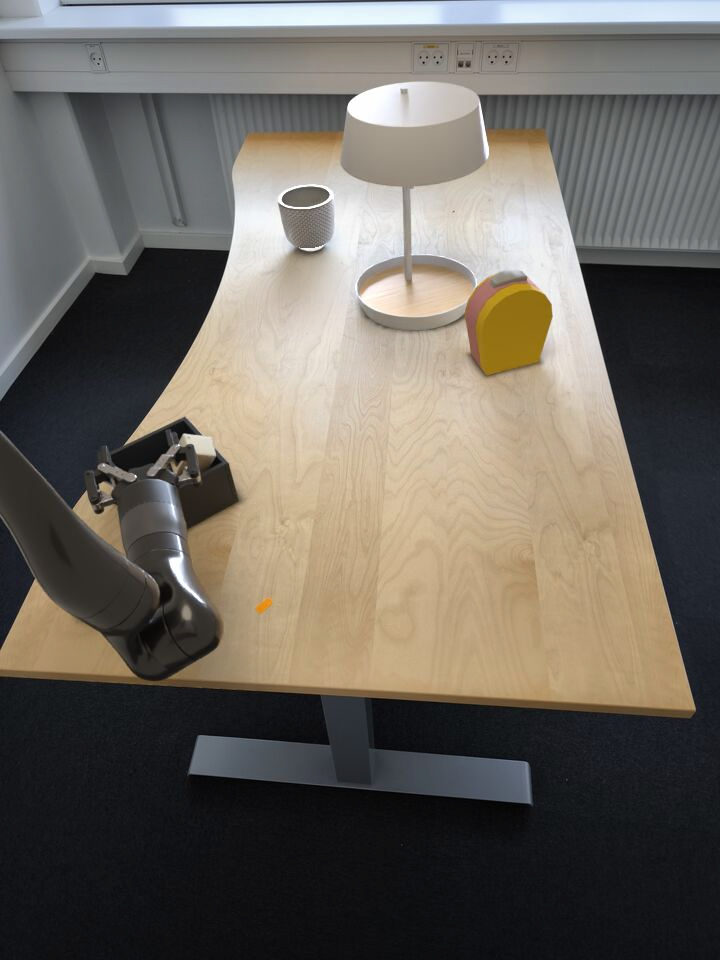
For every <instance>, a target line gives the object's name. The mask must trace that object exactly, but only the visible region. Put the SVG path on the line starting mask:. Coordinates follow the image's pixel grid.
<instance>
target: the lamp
mask: <svg viewBox="0 0 720 960" xmlns="http://www.w3.org/2000/svg"><path fill="white" fill-rule="evenodd" d="M347 104H348V105H347V107H346V115H345V123H344V128H343V137H342V143H341V151H340V157H339V163H340V166H341V168H342V170H343V171H344V172H345V173H346V174H348V175H349V176H351V177H353V178H355V179H357V180H359V181H363V182H366V183H368V184H369V183H370V184H374V185H379V186H385V187H387V186H388V187H397V188H398V187H399V188H402V189H401V190H402V191H401V194H402V195H401V196H402V228H403V255H398V256H394V257H389V258H386V259H383V260H380V261H378V262H376V263H374V264H372V265H371V266H369V267H367V268H366V269H365V270H364V271H362V273H361V274H360V275H359V276H358V278H357V280H356V282H355V293H356V296H357V299H358V301H359V304H360V306H361V309H362V310H363V312H364V313H365V315H366V316H367V317H368V318H369V319H370V320H371V321H373V322H375V323H376V324H379V325H381V326H384V327H387V328H390V329H393V330H400V331H409V332H413V331H427V330H433V329H438V328H442V327H444V326H447V325H450V324H452V323H454V322H456V321H457V320H459V319H460V318H461V317H463V316H465V309H466V305H467V301H468V299H469V297H470V296H471V294H472V293H473V291H474V290H475V288H476V287H477V286H478V279H477V276H476V275H475V273H474V272H473V270H471V268H469V267H468V266H466V265H465V264H464V263H462V262H460V261H457V260H456V259H453V258H449V257H446V256H442V255H435V254H427V253H426V254H423V253H415V254H414V253H413V251H412V249H413V248H412V205H411V204H412V203H411V201H412V199H411V196H412V195H411V190H412V189H414V188H415V187H426V186H432V185H440V184H444V183H449V182H452V181H456V180H459V179H461V178H465V177H466V176H469V175H471V174H473V173H474V172H476V171H477V170H479V169H480V168H482V167H483V166H484V165H485V164H486V163H487V161H488V159H489V155H490V152H489V145H488V139H487V134H486V129H485V122H484V117H483V111H482V106H481V100H480V96H479V95H478V94H477V93H476V92H475V91H473V90H472V89H470V88H467V87H465V86H462V85H458V84H454V83H450V82H449V83H448V82H441V81H406V82H398V83H397V82H396V83H391V84H390V83H389V84H386V85H382V86H378V87H374V88H371V89H368V90H366V91H364V92H361V93H359V94H358V95H356V96H355V97H353V98H352V99H351V100H350V101H349V102H348V103H347Z"/></svg>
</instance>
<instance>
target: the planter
mask: <svg viewBox="0 0 720 960" xmlns="http://www.w3.org/2000/svg"><path fill="white" fill-rule="evenodd" d="M277 206H278V207H277V208H278V212H279V215H280V221H281V225H282V229H283V232H284V235H285V237H286V239H287V240H288V242H289V243H290V244H291V245H293V246H294V247H296V246H297V247H296V248H298V247H300V248H315V247H319V246H322V245H324V244H325V245H326V244H327V243H329V242H330V241H331V239H332V238H333V236H334V234H335V224H336V223H335V221H336V220H335V217H336V214H335V212H336V211H335V209H336V208H335V196H334V193H333V191H332V189H330V188H329V187H327V186H323V185H318V184H304V185H298V186H294V187H291V188H288V189H286V190H284V191H282V193H280V194H279V195H278V198H277Z"/></svg>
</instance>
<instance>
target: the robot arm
mask: <svg viewBox="0 0 720 960" xmlns="http://www.w3.org/2000/svg"><path fill="white" fill-rule="evenodd" d="M165 433H166V437H167V441H168V446H169V450H168V451H167V453H166V454H162V455H161V457H160V458H159V459H158V461H157V462H156V463H155V465H153V463H151V464H148V465H145V466H143V467H139V468H132V469H129V471H128V472H125V471H123V470H121V469H120V468H118V467H114V468H113V467H112V460H111V455H110V453H109V452H110V450H109V447H108V445H103V446H100V450H98V451H97V454H96V458H97V466H96V467H97V468H95V469H93V470H92V469H87V470H85V471H84V472H83V479H84V484H85V488H86V494H87V499H88V501H89V503H90V506H91V508H92V510H93V512H94V513H95V515H101V514H103V513H104V511H105V508H106V507H110V506H112V505H115V506H116V507H117V508H116V509H117V515H118V516H117V517H118V523H119V530H120V538H121V544H122V548H123V551H124V554H125V555H124V554H123V553H122V552H121V551H119V550H118V549H116V548H115V547H114V546H112V545H111V544H110V543H108V542H107V541H106V540H105V539H104V538H103V537H101V536H100V535H99V534H97V533H96V532H95V531H94V530H93V529H92V528H91V527H90V526H89V525H88V524H87V523H86V522H85V521H84V520H83V519H82V518H81V517H80V516H79V515H78V514H77V513H76V512H75V511H74V509H72V508H71V506H70V505H69V503H67V502H66V501H65V500H64V498H62V496H61V495H60V494H59V493H58V491H56V490H55V488H54V487H53V486H52V485H51V483H50V482H48V480H47V479H46V478H45V477H44V476H43V475H42V474H41V472H40V471H39V470H38V469H37V468H36V467H35V466H34V465H33V464H32V463H31V462H30V461H29V460H28V458H26V456H25V455H24V454H23V453H22V451H20V450H19V448H18V447H17V446H16V445H15V444H14V443H13V442H12V440H10V439H9V438H8V436H6V434H5V433H4V432H2V430H1V429H0V519H1V520H2V522H3V523H4V525H5V526H6V527H7V529H8V530H9V532H10V534H11V536H12V537H13V539H14V541H15V543H16V544H17V546H18V549H19V550H20V552H21V554H22V556H23V558H24V560H25V562H26V564H27V566H28V567H29V569H30V571H31V574H32V576H33V577H34V578H35V581H36V583H37V584H38V585H39V587H40V588H41V590H42V591H43V592H44V594H45V595H46V596H47V597H48V598H49V600H51V601H52V602H53V604H55V605H56V606H57V607H58V608H60V609H61V610H62V611H64V612H66V613H67V614H69V615H71V616H72V617H74V618H76V619H77V620H79V621H81V622H82V623H84V624H85V625H87V626H88V627H90V628H92V629H93V630H95V631H97V632H99V634H101V635H102V637H103V638H104V639H105V640H106V641H107V642H108V643H109V644H110V646H111V647H112V648H113V649H114V651H116V653H117V654H118V655H119V657H120V658H121V659H122V661H123V663H125V665H126V666H127V668H128V669H129V670H130V672H132V674H133V675H134V676H136V677H137V678H139V679H141V680H144V681H147V682H160V681H164V680H166V679H169V678H171V677H172V676H174V675H176V674H177V673H179V672H181V671H182V670H184V669H186V668H188V667H189V666H190V665H192V664H194V663H196V662H197V661H199V660H201V659H203V658H204V657H206V656H208V655H210V654H211V653H212V652H215V650H217V648H218V647H219V646H220V644H221V643H222V640H223V638H224V633H225V621H224V618H223V616H222V614H221V612H220V610H219V608H218V607H217V606H216V603H214V601H213V600H212V599H211V597H210V596H209V594H208V593H207V591H206V590H205V588H204V586H203V584H202V583H201V581H200V579H199V577H198V575H197V573H196V571H195V568H194V564H193V559H192V556H191V550H190V547H189V533H188V529H187V524H186V522H185V519H184V515H183V510H182V506H181V502H180V497H179V493H178V492H179V489H180V487H181V486H183V485H188V484H192V485H193V487H196V488H197V487H200V486H201V485H202V480H201V474H200V468H199V463H198V458H197V454H196V451H195V448H194V445H193V444H188V445H186V446H185V447H182V446H180V443H179V439H178V436H177V433H175V432H172V433H171V430H170V429H169V430H165ZM183 461H187V465H188V466H185V467H184V468H185V469H184V470H183V473H182V475H180V476H177V470H178V468H179V467H180V465H181V464H182V463H183ZM102 483H105V484H107V485H108V486H110V487H112V490H111V492H110V494H107V493H106V491H103V490H102V489H101V488H100V484H102Z"/></svg>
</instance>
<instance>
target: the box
mask: <svg viewBox="0 0 720 960" xmlns="http://www.w3.org/2000/svg"><path fill="white" fill-rule="evenodd" d="M179 443H180V446H182V447H185V446H186V445H188V444H193V445H194V448H195V451H196V454H197V458H198V463H199V468H200V474H201V473H203V472H205V471H207V470H208V469H209V468H210V466H211V464H212V462H213V461H214V459H215V457H216V453H215V449H216V448H215V445H214V444H215V443H214V440H213V437H212V436H206V435H203V436H200V435H191V434H183V435H182V437H181V439H180V441H179ZM185 466H188V465H187V461H183V463H182V464H181V465H180V467H179V468H178V470H177V476H180V475H182V473H183V470H184V469H185V468H184V467H185Z"/></svg>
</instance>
